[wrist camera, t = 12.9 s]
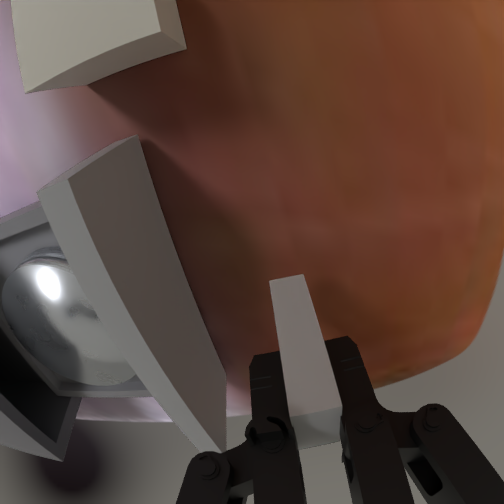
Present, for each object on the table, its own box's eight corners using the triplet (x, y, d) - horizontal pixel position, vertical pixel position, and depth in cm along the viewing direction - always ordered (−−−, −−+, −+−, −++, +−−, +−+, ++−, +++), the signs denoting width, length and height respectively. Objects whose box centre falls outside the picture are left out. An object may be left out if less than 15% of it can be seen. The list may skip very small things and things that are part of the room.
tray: (-35, 212, 13) (-97, 267, 8) (137, 134, 13) (67, 179, 7) (73, 384, 22) (52, 447, 16) (226, 374, 21) (226, 457, 15)
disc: (106, 227, 13) (92, 246, 12) (173, 358, 18) (169, 382, 16) (-6, 264, 14) (-22, 281, 12) (63, 366, 18) (55, 385, 17)
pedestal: (69, 0, 9) (9, -18, 5) (166, -40, 9) (137, -85, 4) (86, 85, 11) (25, 93, 7) (186, 49, 11) (160, 31, 7)
